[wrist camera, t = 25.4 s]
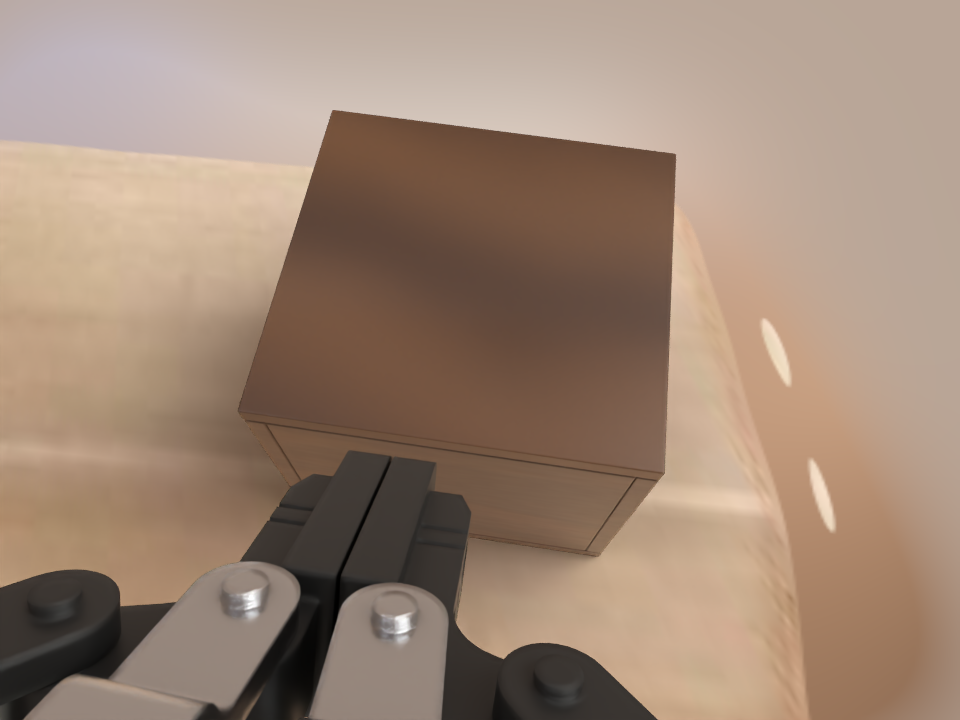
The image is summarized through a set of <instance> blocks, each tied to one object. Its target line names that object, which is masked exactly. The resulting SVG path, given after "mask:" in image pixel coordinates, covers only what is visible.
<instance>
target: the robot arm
mask: <svg viewBox="0 0 960 720" xmlns="http://www.w3.org/2000/svg"><path fill="white" fill-rule="evenodd" d="M436 472H437V463H436V462H430V461H423V460H416V459H409V458H403V457H396V456H395V457H394V458H393V460H392V456H388V455H381V454H374V453H367V452H360V451H353V450H349V451H348V452H347V454H346V455H345V457H344V459H343V460H342V462H341V464H340V466H339V467H338V469H337V471H336V472H335V474H334V476H327V475H320V474H312V475H310V476H308V477H307V478H305V479H303V480H301V481H300V482H298V483H296V484H295V485H293V486H291V488H290V489H289V490H288V492H287V493H286V495H285V496H284V498H283V499H282V501H281V502H280V505H279V507H277V508H276V509H275V511H274V512H273V514H272V515H271V517H270V521H267V523H266V524H265V525H264V527H263V528H262V530H261V531H260V533H259V534H258V536H257V537H256V539H255V540H254V541H253V543H252V544H251V546H250V547H249V549H248V550H247V552H246V553H245V555H244V556H243V558H242V559H241V560H240V562H237V563H231V564H227V565H223V566H220V567H218V568H215V569H213V570H211V571H209V572H207V573H205V574H204V575H202V576H201V577H200V578H198V579H197V580H196V581H195V582H194V583H193V584H192V586H191V587H190V588H189V589H188V590H187V591H186V592H185V593H184V594H183V596H182V597H181V598H180V599H179V600H178V601H177V602H174V603H165V604H151V605H136V606H121V607H120V592H119V588H118V586H117V584H116V583H115V582H114V581H113V580H112V579H111V578H109V577H107V576H105V575H103V574H100V573H98V572H93V571H88V570H62V571H55V572H50V573H45V574H41V575H38V576H35V577H32V578H29V579H26V580H23V581H20V582H17V583H14V584H11V585H8V586H5V587H2V588H0V720H657V719H656V718H655V717H654V716H653V715H652V714H651V713H650V712H649V711H648V710H647V709H646V708H645V707H644V706H643V705H642V704H641V703H640V702H639V701H638V700H637V699H636V698H635V697H633V696H632V695H631V694H630V693H629V692H628V691H627V690H626V689H625V688H624V687H623V686H622V685H621V684H620V683H619V682H618V681H617V680H616V679H615V678H614V677H613V676H612V675H611V674H610V673H609V672H607V671H606V670H605V669H604V668H603V667H602V666H601V665H600V664H599V663H598V662H596V661H595V660H594V659H593V658H591V657H589V656H588V655H586V654H584V653H582V652H580V651H578V650H576V649H573V648H570V647H568V646H563V645H559V644H552V643H537V644H530V645H526V646H523V647H520V648H518V649H516V650H514V651H513V652H511V653H510V654H508V656H507V657H506V658H505V659H501V658H499V657H496V656H494V655H492V654H490V653H487V652H485V651H483V650H482V649H480V648H478V647H477V646H475V645H474V644H473V643H471V642H470V641H469V640H468V639H467V638H466V637H465V636H464V635H463V634H462V633H461V631H460V630H459V628H458V627H457V624H456V618H457V612H458V607H459V602H460V596H461V590H462V583H463V575H464V567H465V559H466V552H467V544H468V536H469V528H470V520H471V511H470V509H469V507H468V505H467V503H466V502H465V500H464V498H463V496H462V495H458V494H451V493H444V492H437V491H435V482H436ZM304 717H308V718H304Z"/></svg>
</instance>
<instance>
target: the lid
mask: <svg viewBox="0 0 960 720" xmlns="http://www.w3.org/2000/svg"><path fill="white" fill-rule="evenodd" d="M675 170H676V154H673V153H665V152H656V151H649V150H641V149H634V148H626V147H618V146H610V145H602V144H595V143H587V142H579V141H571V140H563V139H555V138H548V137H540V136H532V135H524V134H517V133H509V132H500V131H493V130H485V129H477V128H470V127H462V126H454V125H446V124H438V123H430V122H423V121H414V120H407V119H399V118H391V117H384V116H376V115H368V114H360V113H352V112H344V111H336V110H333V111H332V113H331V116H330V119H329V123H328V126H327V129H326V132H325V136H324V139H323V142H322V145H321V148H320V151H319V154H318V157H317V161H316V164H315V167H314V170H313V173H312V176H311V180H310V183H309V186H308V189H307V192H306V196H305V199H304V202H303V205H302V208H301V211H300V215H299V218H298V221H297V224H296V227H295V230H294V234H293V237H292V240H291V243H290V246H289V249H288V253H287V256H286V259H285V262H284V265H283V268H282V272H281V275H280V278H279V281H278V284H277V287H276V291H275V294H274V297H273V300H272V303H271V307H270V310H269V313H268V316H267V319H266V322H265V326H264V329H263V332H262V335H261V338H260V341H259V345H258V348H257V351H256V354H255V357H254V360H253V364H252V367H251V370H250V373H249V376H248V379H247V383H246V386H245V389H244V392H243V395H242V398H241V402H240V405H239V408H238V413H239V414H240V415H241V417H242V418H243V419H244V420H251V421H258V422H265V423H272V424H278V425H285V426H292V427H299V428H306V429H312V430H319V431H326V432H333V433H340V434H347V435H353V436H360V437H367V438H374V439H381V440H387V441H394V442H401V443H408V444H415V445H422V446H428V447H435V448H442V449H449V450H456V451H462V452H469V453H476V454H483V455H490V456H496V457H503V458H510V459H517V460H524V461H531V462H537V463H544V464H551V465H558V466H565V467H571V468H578V469H585V470H592V471H599V472H606V473H612V474H619V475H626V476H633V477H640V478H646V479H653V480H660V478H661V477H662V476H663V475H664V473H665V448H666V420H667V392H668V364H669V337H670V309H671V281H672V253H673V226H674V198H675Z"/></svg>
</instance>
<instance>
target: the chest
mask: <svg viewBox="0 0 960 720" xmlns="http://www.w3.org/2000/svg"><path fill="white" fill-rule="evenodd" d="M245 422H246V424H247V425H248V426H249V428H250V429H251V431H252V432H253V434H254V435H255V437H256V438H257V439H258V441H259V442H260V444H261V445H262V447H263V448H264V450H265V451H266V452H267V454H268V455H269V457H270V458H271V460H272V461H273V463H274V464H275V465H276V467H277V468H278V470H279V471H280V473H281V474H282V476H283V477H284V478H285V480H286V481H287V483H288V484H289V486H290V487H291V486H293V485H295V484H296V483H298V482H300V481H301V480H303V479H305V478H307V477H308V476H310V475H312V474H320V475H327V476H334V474H335V472H336V471H337V469H338V467H339V466H340V464H341V462H342V460H343V459H344V457H345V455H346V454H347V452H348V451H349V450H353V451H360V452H367V453H374V454H381V455H388V456H392V460H393V458H394V457H395V456H396V457H403V458H409V459H416V460H423V461H430V462H436V463H437V472H436V482H435V491H437V492H444V493H451V494H458V495H462V496H463V498H464V500H465V502H466V503H467V505H468V507H469V509H470V511H471V520H470V528H469V536H468V537H473V538H479V539H486V540H492V541H499V542H506V543H512V544H519V545H525V546H532V547H539V548H545V549H552V550H558V551H565V552H572V553H578V554H585V555H591V556H599V555H600V554H601V553H602V551H603V550H604V549H605V548H606V546H607V545H608V544H609V543H610V541H611V540H612V539H613V538H614V536H615V535H616V534H617V532H618V531H619V530H620V529H621V527H622V526H623V525H624V524H625V522H626V521H627V520H628V519H629V517H630V516H631V515H632V514H633V512H634V511H635V510H636V508H637V507H638V506H639V505H640V503H641V502H642V501H643V500H644V498H645V497H646V496H647V495H648V493H649V492H650V491H651V490H652V488H653V487H654V486H655V485H656V483H657V482H658V480H653V479H646V478H640V477H633V476H626V475H619V474H612V473H606V472H599V471H592V470H585V469H578V468H571V467H565V466H558V465H551V464H544V463H537V462H531V461H524V460H517V459H510V458H503V457H496V456H490V455H483V454H476V453H469V452H462V451H456V450H449V449H442V448H435V447H428V446H422V445H415V444H408V443H401V442H394V441H387V440H381V439H374V438H367V437H360V436H353V435H347V434H340V433H333V432H326V431H319V430H312V429H306V428H299V427H292V426H285V425H278V424H272V423H265V422H258V421H251V420H245Z"/></svg>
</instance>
